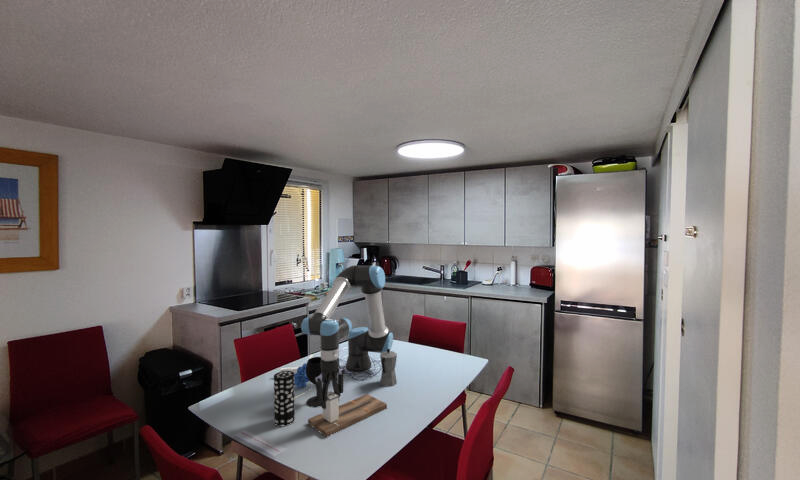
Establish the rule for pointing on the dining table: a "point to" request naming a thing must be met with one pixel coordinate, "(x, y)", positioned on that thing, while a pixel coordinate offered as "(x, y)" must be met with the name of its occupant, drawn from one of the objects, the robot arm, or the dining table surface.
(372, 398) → the brown flat wooden board
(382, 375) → the coffeepot
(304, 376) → the grapes
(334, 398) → the fader
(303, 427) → the dining table surface
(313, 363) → the wine glass
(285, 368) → the napkin holder
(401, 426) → the dining table surface
